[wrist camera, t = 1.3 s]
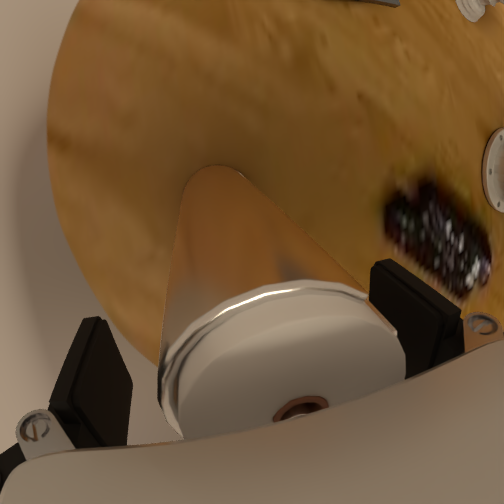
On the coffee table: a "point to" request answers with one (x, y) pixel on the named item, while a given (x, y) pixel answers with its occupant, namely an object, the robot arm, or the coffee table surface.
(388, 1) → the collar stand
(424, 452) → the robot arm
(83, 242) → the coffee table surface
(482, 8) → the chalice
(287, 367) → the silver metal cylinder
